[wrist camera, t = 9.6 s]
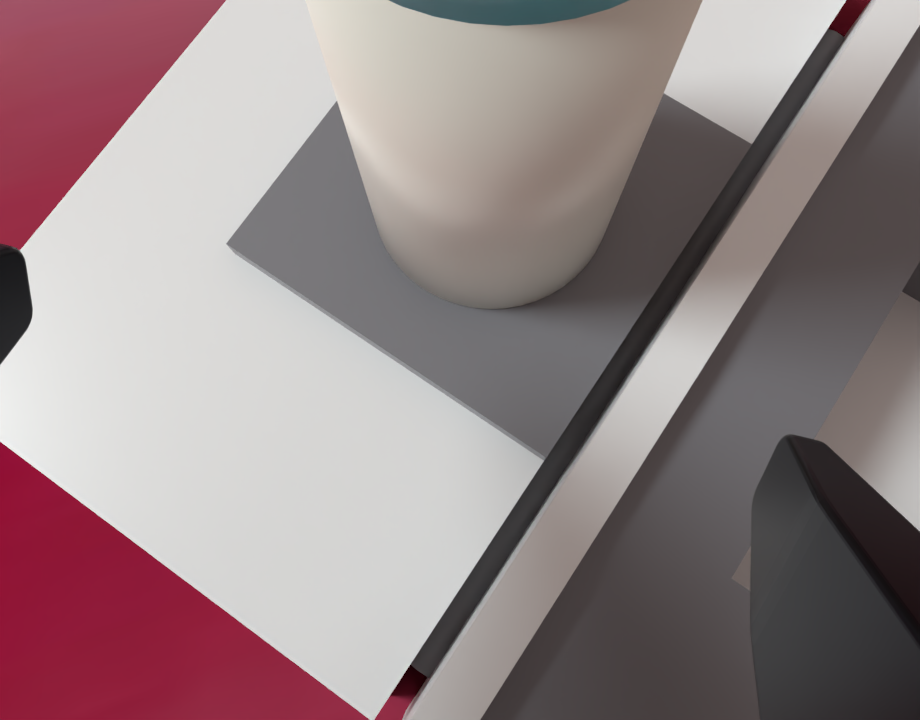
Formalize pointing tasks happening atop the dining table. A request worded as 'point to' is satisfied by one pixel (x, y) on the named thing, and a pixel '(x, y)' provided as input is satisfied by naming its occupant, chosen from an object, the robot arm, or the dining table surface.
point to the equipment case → (485, 369)
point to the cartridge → (497, 129)
